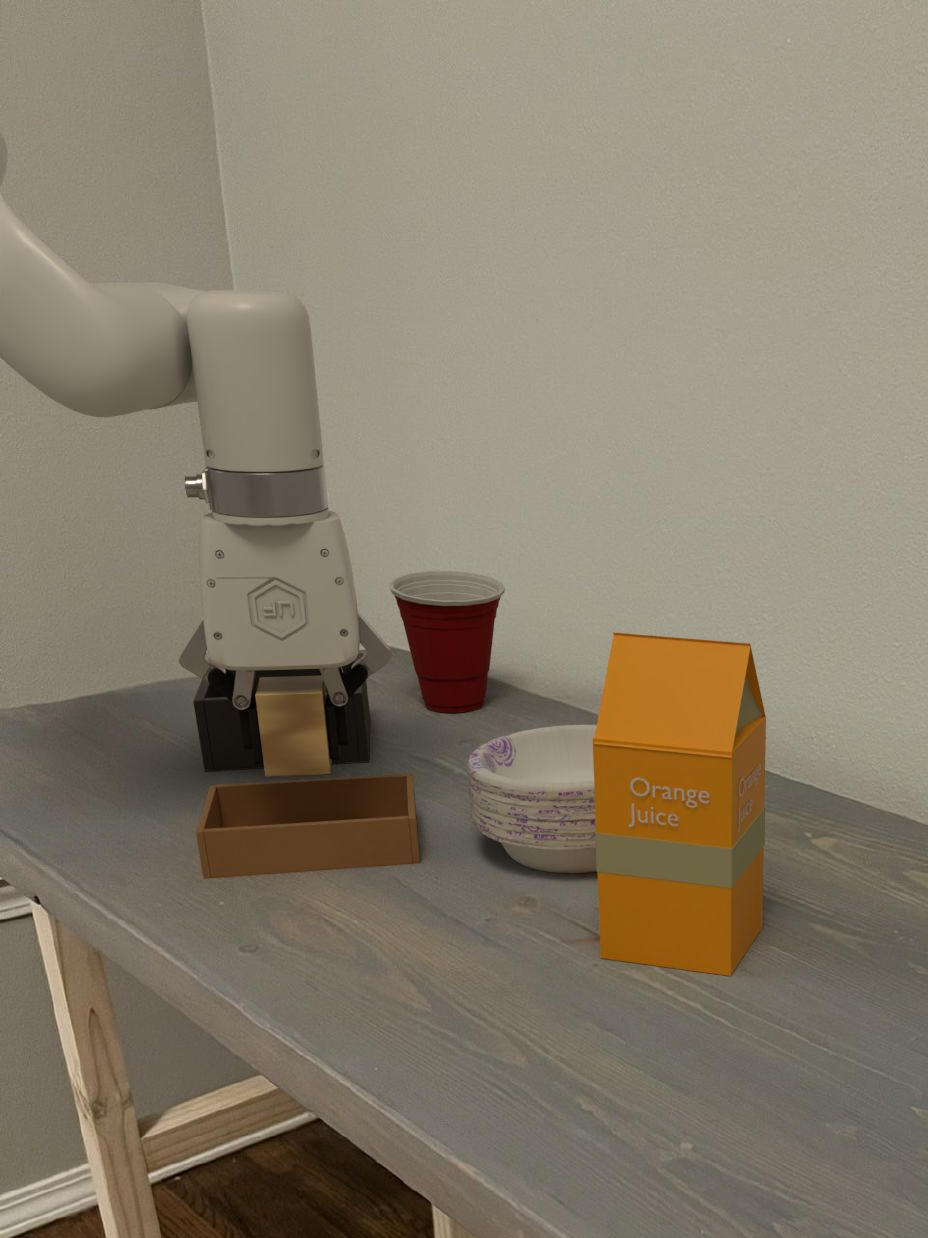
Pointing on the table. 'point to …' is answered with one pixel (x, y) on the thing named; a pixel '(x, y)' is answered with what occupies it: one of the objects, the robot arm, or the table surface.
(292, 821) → the box
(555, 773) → the paper bowls
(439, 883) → the table surface
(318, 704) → the block
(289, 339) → the robot arm
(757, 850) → the orange juice
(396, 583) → the plastic cup
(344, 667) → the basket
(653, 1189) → the table surface
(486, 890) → the table surface
